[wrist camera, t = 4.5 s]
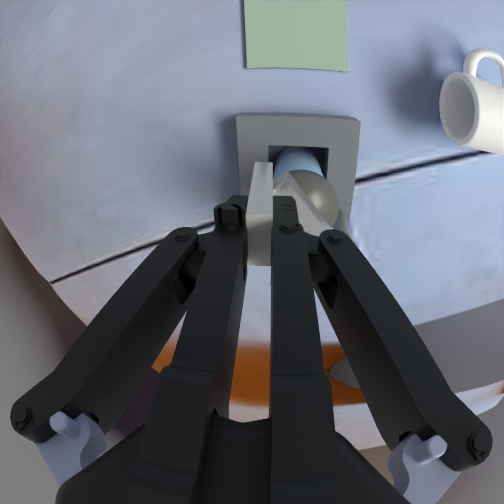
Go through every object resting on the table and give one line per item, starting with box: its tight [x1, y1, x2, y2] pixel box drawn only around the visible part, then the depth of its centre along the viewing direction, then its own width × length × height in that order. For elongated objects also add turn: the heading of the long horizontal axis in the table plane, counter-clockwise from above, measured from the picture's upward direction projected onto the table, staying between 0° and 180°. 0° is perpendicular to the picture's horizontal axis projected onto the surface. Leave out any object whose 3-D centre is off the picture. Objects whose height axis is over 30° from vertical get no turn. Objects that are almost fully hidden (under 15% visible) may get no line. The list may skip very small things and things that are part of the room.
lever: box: [273, 170, 331, 236], centre depth 19 cm, size 11×3×2 cm, turn 40°
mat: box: [244, 0, 348, 72], centre depth 20 cm, size 10×10×1 cm
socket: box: [236, 113, 360, 241], centre depth 24 cm, size 12×12×12 cm
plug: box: [273, 146, 339, 228], centre depth 25 cm, size 6×6×10 cm
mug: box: [439, 49, 504, 155], centre depth 17 cm, size 12×10×8 cm
